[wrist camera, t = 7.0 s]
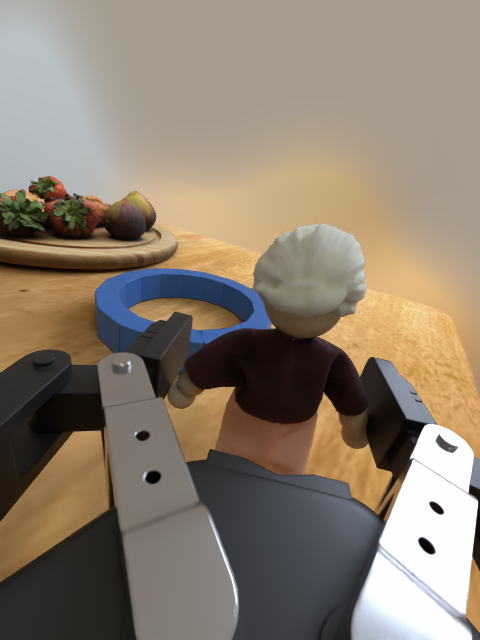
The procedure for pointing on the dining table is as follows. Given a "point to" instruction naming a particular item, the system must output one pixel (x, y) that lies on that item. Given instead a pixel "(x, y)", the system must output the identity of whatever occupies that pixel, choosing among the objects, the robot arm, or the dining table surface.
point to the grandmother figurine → (287, 354)
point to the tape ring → (142, 285)
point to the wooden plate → (79, 230)
